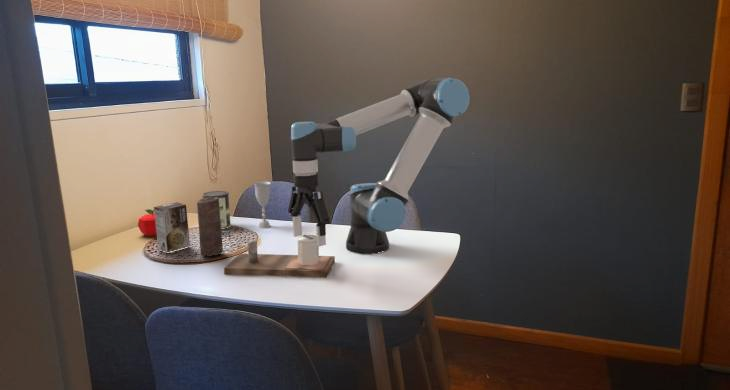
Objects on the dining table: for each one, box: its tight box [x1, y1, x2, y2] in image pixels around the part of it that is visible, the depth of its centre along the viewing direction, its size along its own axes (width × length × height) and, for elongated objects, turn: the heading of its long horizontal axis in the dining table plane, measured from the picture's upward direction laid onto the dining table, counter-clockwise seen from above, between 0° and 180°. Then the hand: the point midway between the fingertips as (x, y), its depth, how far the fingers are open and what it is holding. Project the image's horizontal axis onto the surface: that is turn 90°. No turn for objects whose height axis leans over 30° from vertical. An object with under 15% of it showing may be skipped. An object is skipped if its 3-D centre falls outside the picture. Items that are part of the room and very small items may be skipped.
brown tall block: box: [196, 197, 224, 257], centre depth 178 cm, size 8×7×20 cm
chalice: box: [253, 181, 272, 229], centre depth 213 cm, size 7×7×18 cm
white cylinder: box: [297, 234, 320, 265], centre depth 165 cm, size 6×6×8 cm
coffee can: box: [201, 190, 232, 229], centre depth 214 cm, size 10×10×14 cm
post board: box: [223, 240, 336, 278], centre depth 166 cm, size 32×14×8 cm, turn 83°
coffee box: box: [153, 201, 191, 252], centre depth 185 cm, size 9×6×16 cm
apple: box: [137, 209, 157, 237], centre depth 205 cm, size 11×11×10 cm
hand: (309, 240), depth 164 cm, fingers open, 13 cm apart
